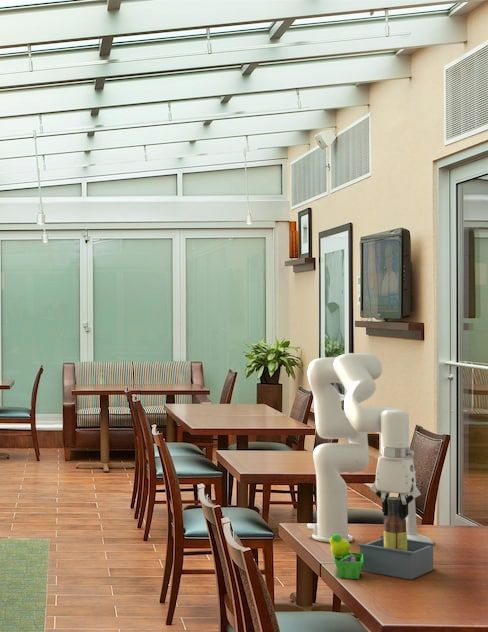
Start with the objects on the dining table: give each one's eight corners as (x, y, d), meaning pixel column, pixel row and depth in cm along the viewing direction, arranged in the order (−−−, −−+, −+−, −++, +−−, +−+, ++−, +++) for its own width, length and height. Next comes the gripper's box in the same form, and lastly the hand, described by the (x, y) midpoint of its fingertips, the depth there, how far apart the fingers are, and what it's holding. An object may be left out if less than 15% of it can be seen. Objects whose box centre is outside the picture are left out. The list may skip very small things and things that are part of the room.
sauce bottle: (406, 565, 278) (407, 496, 277) (408, 570, 272) (409, 501, 271) (381, 562, 280) (383, 494, 279) (383, 568, 274) (384, 499, 274)
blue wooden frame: (358, 570, 275) (357, 543, 275) (382, 560, 286) (382, 535, 286) (411, 580, 264) (411, 552, 264) (435, 569, 275) (434, 543, 275)
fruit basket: (363, 580, 263) (363, 539, 263) (329, 578, 266) (329, 537, 267) (362, 571, 274) (362, 531, 274) (330, 568, 277) (329, 529, 277)
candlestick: (437, 547, 304) (436, 452, 304) (394, 545, 306) (393, 451, 307) (427, 538, 316) (426, 447, 317) (386, 537, 319) (385, 446, 319)
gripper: (430, 454, 272) (430, 518, 272) (372, 448, 284) (372, 510, 284) (419, 457, 267) (419, 522, 267) (360, 451, 279) (360, 514, 279)
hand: (395, 515), depth 276 cm, fingers closed on sauce bottle, 4 cm apart
